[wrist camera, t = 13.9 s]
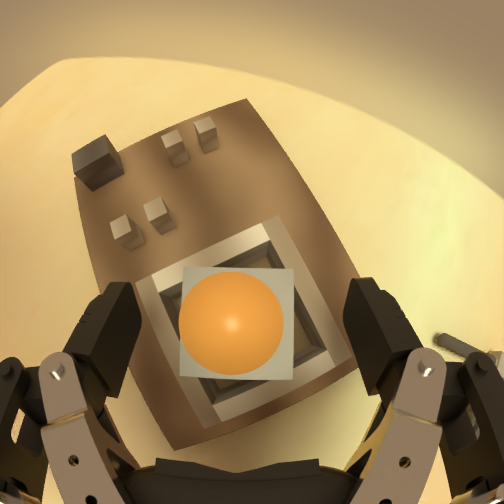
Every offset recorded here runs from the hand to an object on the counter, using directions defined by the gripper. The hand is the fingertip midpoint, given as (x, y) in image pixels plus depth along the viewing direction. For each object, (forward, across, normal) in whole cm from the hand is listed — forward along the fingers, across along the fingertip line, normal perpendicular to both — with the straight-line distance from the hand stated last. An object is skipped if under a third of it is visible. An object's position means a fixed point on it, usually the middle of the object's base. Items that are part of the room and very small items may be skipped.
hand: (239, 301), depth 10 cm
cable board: (+8, +2, +3) cm, 9 cm away
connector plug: (+4, 0, +6) cm, 7 cm away
